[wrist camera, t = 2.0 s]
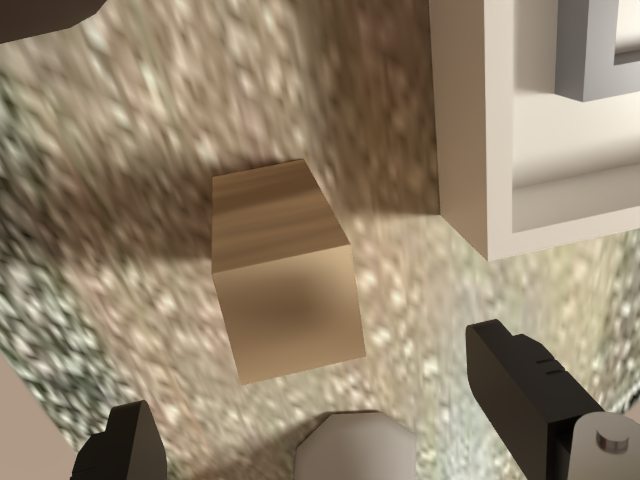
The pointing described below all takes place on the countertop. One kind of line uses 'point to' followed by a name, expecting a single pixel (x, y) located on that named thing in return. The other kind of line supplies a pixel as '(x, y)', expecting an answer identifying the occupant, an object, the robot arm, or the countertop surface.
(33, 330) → the countertop surface
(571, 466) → the robot arm
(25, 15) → the bottle
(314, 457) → the flask
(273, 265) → the plug
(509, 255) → the box
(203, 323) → the countertop surface
